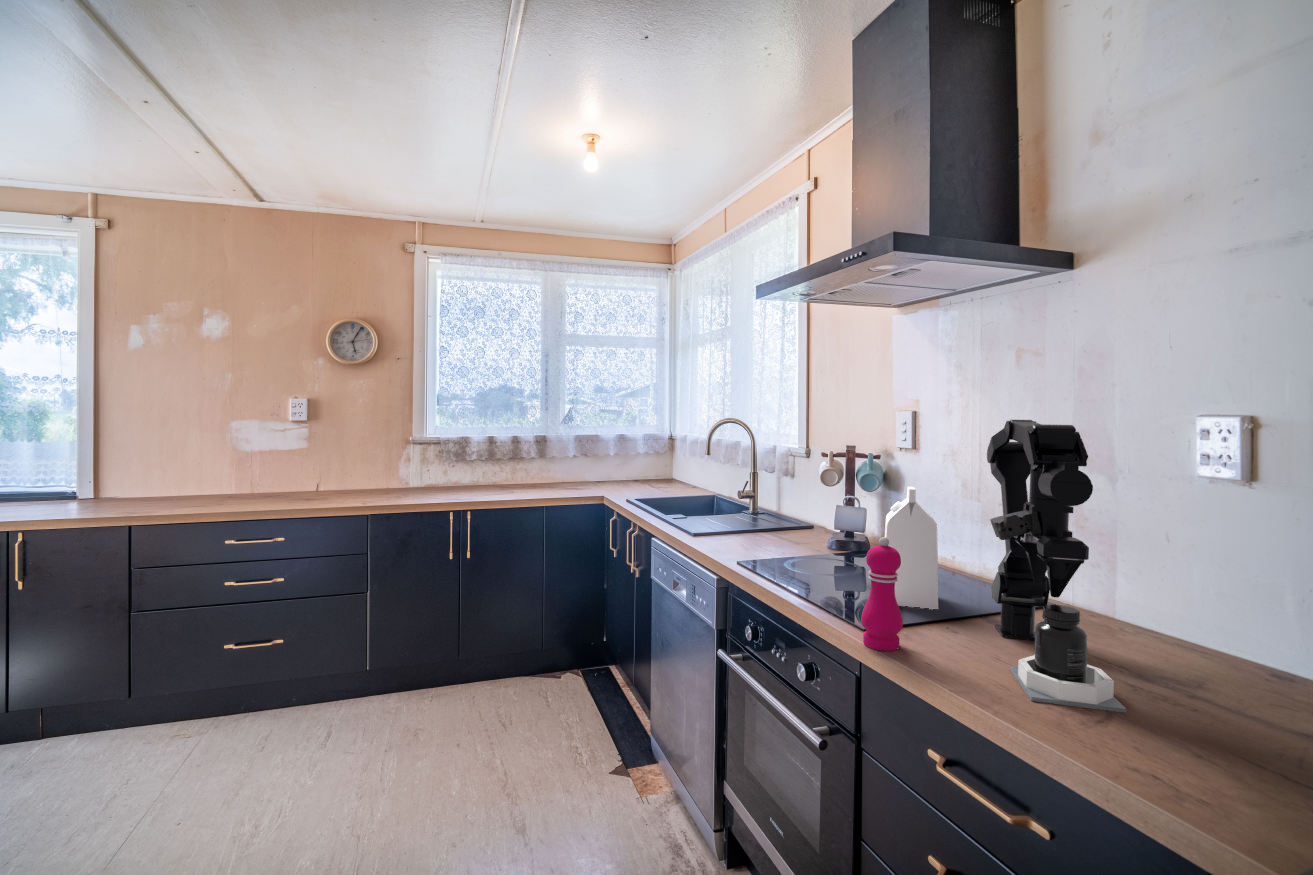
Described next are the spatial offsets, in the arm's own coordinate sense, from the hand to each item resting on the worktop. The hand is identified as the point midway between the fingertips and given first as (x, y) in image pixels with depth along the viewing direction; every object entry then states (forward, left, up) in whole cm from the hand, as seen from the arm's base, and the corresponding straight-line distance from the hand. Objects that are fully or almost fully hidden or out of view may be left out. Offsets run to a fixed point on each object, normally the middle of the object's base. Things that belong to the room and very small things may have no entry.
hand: (1045, 589), depth 105 cm
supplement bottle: (+10, 0, -13) cm, 16 cm away
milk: (-34, -18, -13) cm, 41 cm away
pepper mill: (-1, -26, -13) cm, 29 cm away
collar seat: (+10, 0, -13) cm, 16 cm away
